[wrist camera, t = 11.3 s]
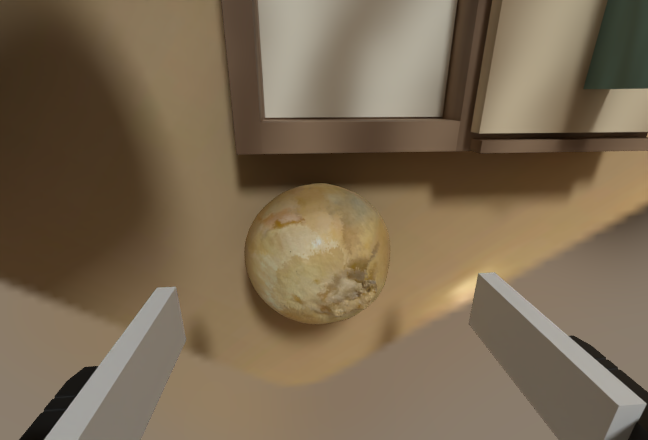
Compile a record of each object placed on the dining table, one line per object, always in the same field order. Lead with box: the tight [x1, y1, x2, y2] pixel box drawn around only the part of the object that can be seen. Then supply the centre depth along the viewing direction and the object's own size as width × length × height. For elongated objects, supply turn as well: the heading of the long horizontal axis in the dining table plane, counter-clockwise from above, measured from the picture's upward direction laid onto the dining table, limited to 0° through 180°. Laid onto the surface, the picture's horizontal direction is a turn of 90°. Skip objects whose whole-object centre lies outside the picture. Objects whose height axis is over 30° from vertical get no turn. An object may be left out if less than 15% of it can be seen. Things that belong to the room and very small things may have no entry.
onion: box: [244, 183, 390, 324], centre depth 17 cm, size 8×8×7 cm
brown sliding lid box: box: [221, 0, 648, 154], centre depth 15 cm, size 22×13×4 cm, turn 90°
